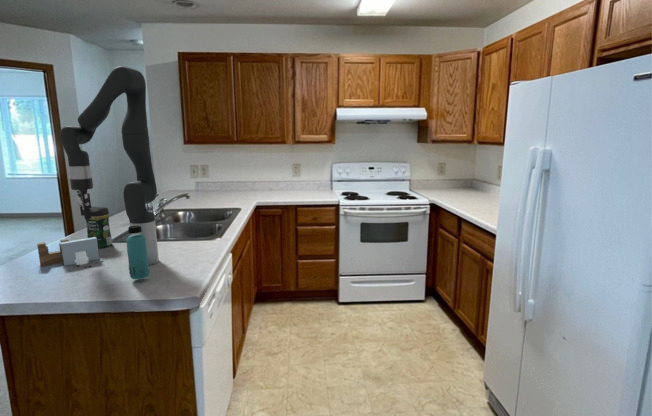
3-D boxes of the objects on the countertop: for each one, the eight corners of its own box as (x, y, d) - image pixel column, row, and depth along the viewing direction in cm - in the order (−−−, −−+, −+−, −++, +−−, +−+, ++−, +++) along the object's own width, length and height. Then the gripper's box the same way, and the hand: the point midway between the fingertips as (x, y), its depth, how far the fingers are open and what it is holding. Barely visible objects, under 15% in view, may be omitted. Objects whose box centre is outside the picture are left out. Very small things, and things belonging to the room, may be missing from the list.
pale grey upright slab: (99, 258, 156) (96, 238, 154) (64, 265, 148) (61, 243, 146) (97, 257, 158) (95, 236, 156) (63, 264, 150) (60, 242, 148)
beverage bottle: (153, 276, 137) (148, 223, 133) (145, 283, 131) (139, 228, 127) (135, 276, 137) (129, 223, 133) (126, 283, 131) (120, 228, 127)
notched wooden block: (71, 260, 154) (68, 239, 152) (41, 266, 147) (37, 244, 145) (70, 259, 155) (67, 238, 154) (40, 265, 149) (36, 243, 147)
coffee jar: (84, 247, 171) (79, 208, 167) (98, 242, 179) (93, 204, 175) (103, 249, 169) (98, 209, 166) (115, 244, 177) (111, 205, 173)
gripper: (95, 178, 146) (100, 218, 149) (88, 175, 157) (93, 212, 160) (72, 179, 141) (77, 221, 144) (67, 176, 152) (72, 215, 155)
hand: (86, 216), depth 152 cm, fingers open, 8 cm apart
